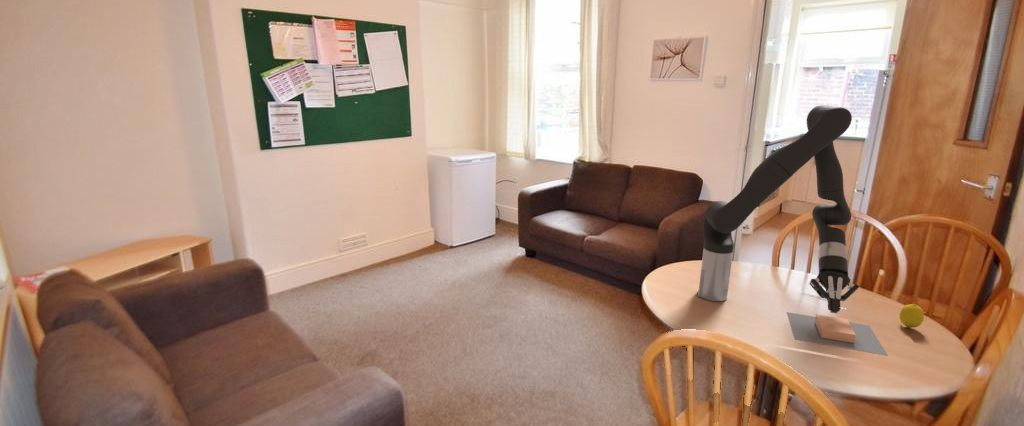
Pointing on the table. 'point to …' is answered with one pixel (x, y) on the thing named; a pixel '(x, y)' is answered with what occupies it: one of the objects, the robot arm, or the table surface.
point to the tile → (835, 328)
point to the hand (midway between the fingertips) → (834, 312)
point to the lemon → (911, 315)
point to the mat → (808, 332)
